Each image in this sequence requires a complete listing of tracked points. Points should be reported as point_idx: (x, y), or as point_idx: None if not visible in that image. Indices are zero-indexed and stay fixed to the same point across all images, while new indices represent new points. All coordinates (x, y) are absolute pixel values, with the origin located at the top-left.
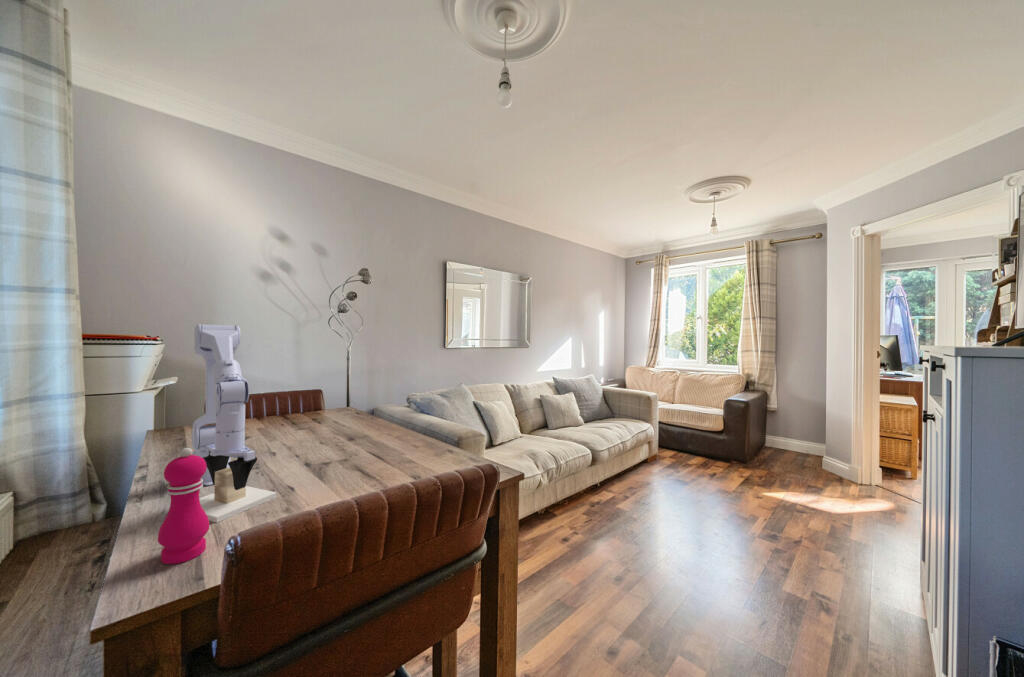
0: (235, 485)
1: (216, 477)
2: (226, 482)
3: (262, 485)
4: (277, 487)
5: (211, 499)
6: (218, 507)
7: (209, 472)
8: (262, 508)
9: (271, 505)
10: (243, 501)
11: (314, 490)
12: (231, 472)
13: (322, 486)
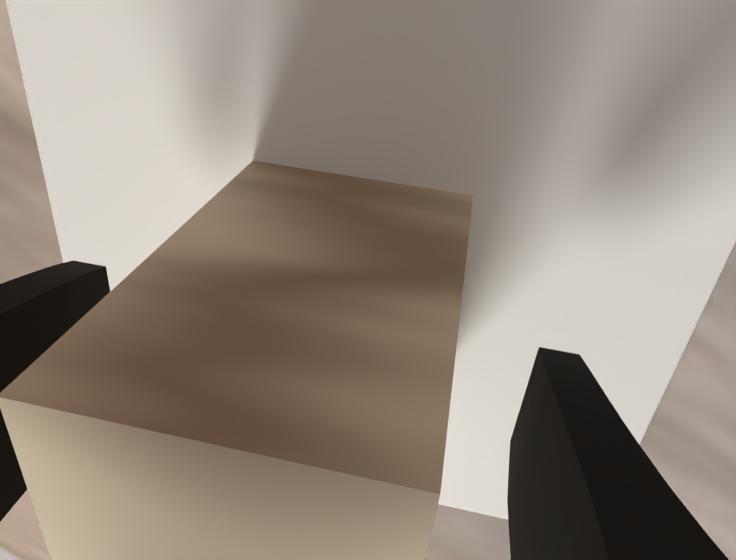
0: (17, 282)
1: (394, 385)
2: (124, 294)
3: (441, 555)
4: None
5: (545, 218)
6: (243, 59)
7: (693, 518)
8: (5, 223)
9: (6, 281)
10: (159, 244)
11: (20, 503)
12: (56, 484)
13: (40, 549)
